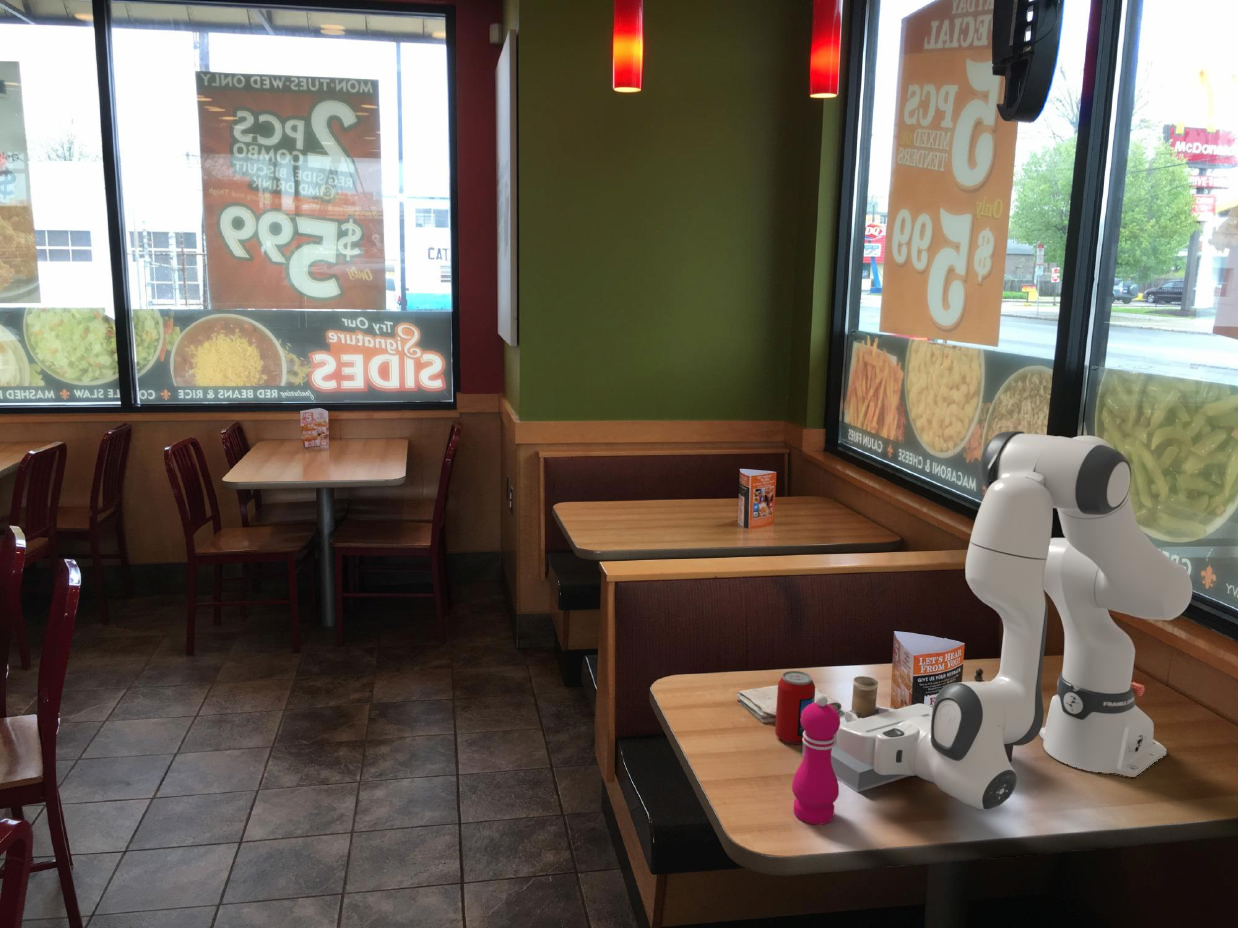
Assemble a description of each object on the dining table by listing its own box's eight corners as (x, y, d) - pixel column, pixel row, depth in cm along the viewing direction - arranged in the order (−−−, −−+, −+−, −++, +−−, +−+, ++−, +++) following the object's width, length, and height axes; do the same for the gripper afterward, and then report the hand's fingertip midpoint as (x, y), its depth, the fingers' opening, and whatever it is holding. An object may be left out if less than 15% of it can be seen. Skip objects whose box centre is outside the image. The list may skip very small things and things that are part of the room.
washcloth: (732, 702, 192) (733, 688, 191) (807, 689, 199) (808, 676, 198) (763, 728, 181) (764, 713, 180) (842, 713, 188) (843, 699, 187)
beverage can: (811, 748, 172) (816, 686, 170) (773, 743, 174) (777, 681, 171) (811, 731, 179) (816, 671, 177) (775, 727, 180) (779, 667, 178)
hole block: (860, 738, 177) (861, 721, 176) (918, 773, 165) (919, 754, 164) (801, 755, 170) (803, 736, 169) (857, 792, 158) (859, 772, 157)
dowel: (860, 748, 170) (866, 674, 167) (876, 758, 166) (883, 683, 164) (842, 753, 168) (848, 678, 165) (859, 763, 164) (865, 687, 162)
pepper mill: (842, 826, 148) (852, 705, 144) (797, 826, 147) (805, 705, 143) (829, 801, 155) (837, 685, 151) (785, 801, 154) (793, 685, 150)
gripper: (966, 714, 159) (904, 683, 171) (875, 740, 149) (816, 705, 161) (962, 749, 160) (901, 716, 172) (872, 777, 150) (813, 740, 162)
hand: (859, 711), depth 166 cm, fingers closed on dowel, 4 cm apart
